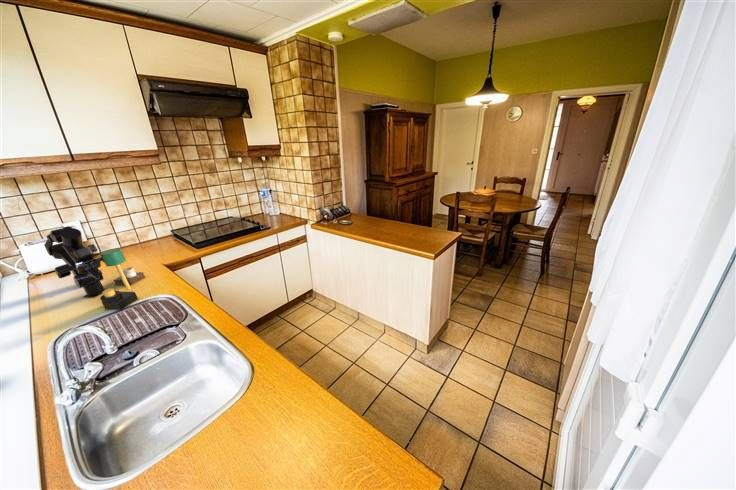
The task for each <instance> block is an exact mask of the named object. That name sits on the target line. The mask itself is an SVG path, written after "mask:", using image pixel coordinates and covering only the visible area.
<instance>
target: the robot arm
mask: <svg viewBox="0 0 736 490" xmlns="http://www.w3.org/2000/svg"><path fill="white" fill-rule="evenodd" d="M45 236H46V241H45V242H44V248H45V251H46V252H47V254H48V255H49V256H50V257H52V258H53V259H55V260H62V261H63V262H64V263H65V264H62V265H58V266H55V268H54V271H55V275H56V277H58V279H63V278H66V277H69V276H71V275H73V274H74V275H73V281H74V283H75V285H76V286H77V288H80V289H82V288H83V290H84V292H85V295H83V298H96V297H98V296H100V295H103V293H102V292H103V291H105V290H107V289H108V288H105V287H104V286H103V284H102V283H101V281H103V280H104V275H103V272H102V270H100V269H99V268H101V266H102V264H101V263H102V262H103V263H104V264H105V262H104V260H103V258H102V256H101V255H100V256H98V257H95V255H94V253H95V252H98V249H97V246H96V245H95V244H93V243H92V244H88V245H87V246H85V245H84V244H83V237H82V236H83V235H82V232H81V230H80V229H78V228H76V227H72V226H69V225H67V226H63V227H61V228H57V229H53V230H50V232H49V233H48V234H47V235H45ZM54 243H55V244H54ZM94 257H95V258H94ZM72 270H73V273H72Z"/></svg>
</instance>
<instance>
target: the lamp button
mask: <svg viewBox="0 0 736 490" xmlns="http://www.w3.org/2000/svg"><path fill="white" fill-rule="evenodd" d="M106 289H107V290H105V291H103V292H102V296H103V295H104V297H105V298H108V297H111V296H114V295H115V294H116V293H115V291H116V290H115V289H114V288H106Z"/></svg>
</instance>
